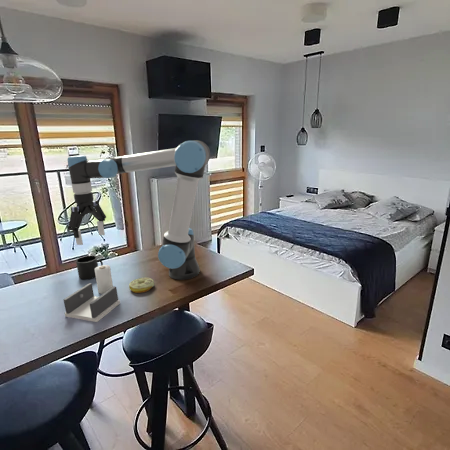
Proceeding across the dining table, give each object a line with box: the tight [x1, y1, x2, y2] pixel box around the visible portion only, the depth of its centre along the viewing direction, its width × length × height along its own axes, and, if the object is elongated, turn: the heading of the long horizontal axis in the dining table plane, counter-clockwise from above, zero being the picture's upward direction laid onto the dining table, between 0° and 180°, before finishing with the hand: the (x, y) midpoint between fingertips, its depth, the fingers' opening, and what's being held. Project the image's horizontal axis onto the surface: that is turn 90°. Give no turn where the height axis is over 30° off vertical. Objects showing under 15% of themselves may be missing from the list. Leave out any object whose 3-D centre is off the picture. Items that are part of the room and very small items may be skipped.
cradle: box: [62, 282, 121, 323], centre depth 125 cm, size 15×14×8 cm
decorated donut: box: [128, 276, 155, 294], centre depth 142 cm, size 10×11×4 cm
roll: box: [95, 264, 114, 295], centre depth 140 cm, size 6×6×11 cm
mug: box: [75, 255, 104, 281], centre depth 157 cm, size 9×12×9 cm
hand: (91, 239), depth 141 cm, fingers open, 13 cm apart
